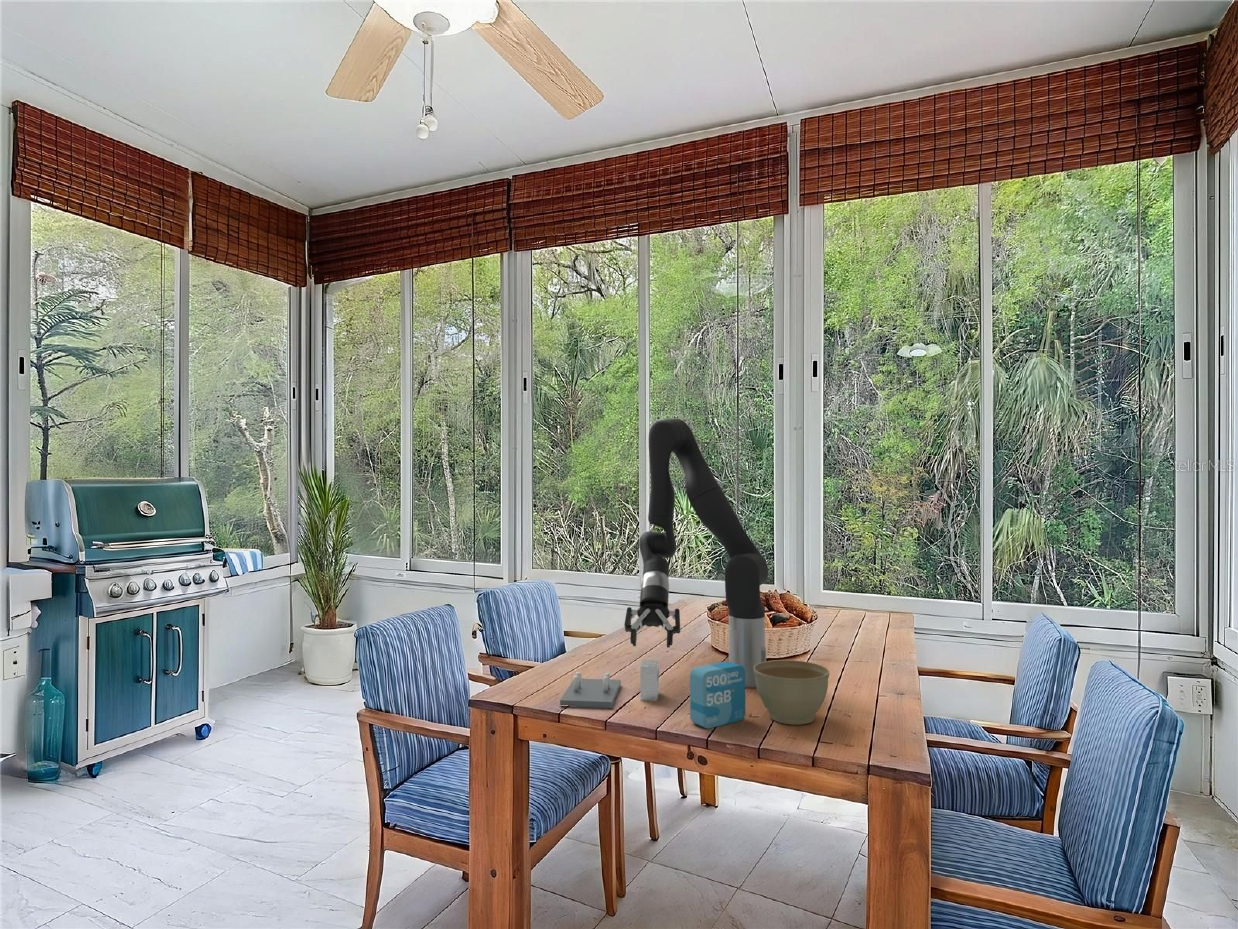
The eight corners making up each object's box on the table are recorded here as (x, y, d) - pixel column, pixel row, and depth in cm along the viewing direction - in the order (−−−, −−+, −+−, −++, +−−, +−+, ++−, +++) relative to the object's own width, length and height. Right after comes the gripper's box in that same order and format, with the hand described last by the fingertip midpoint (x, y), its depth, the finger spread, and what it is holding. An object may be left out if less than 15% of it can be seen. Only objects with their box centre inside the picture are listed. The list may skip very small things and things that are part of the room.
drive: (659, 693, 173) (659, 660, 173) (657, 700, 167) (657, 666, 167) (642, 692, 173) (642, 660, 173) (640, 700, 167) (640, 666, 167)
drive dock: (620, 685, 179) (620, 666, 179) (611, 708, 161) (611, 686, 161) (574, 684, 180) (574, 664, 180) (560, 706, 162) (560, 684, 162)
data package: (703, 730, 147) (702, 672, 147) (689, 724, 151) (689, 667, 151) (746, 719, 153) (745, 664, 154) (732, 714, 157) (731, 660, 157)
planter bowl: (827, 709, 160) (826, 661, 160) (832, 734, 144) (831, 681, 145) (755, 704, 164) (755, 657, 164) (752, 728, 148) (752, 676, 148)
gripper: (627, 583, 186) (621, 636, 175) (681, 584, 185) (679, 638, 173) (629, 599, 192) (624, 652, 180) (681, 601, 190) (680, 654, 178)
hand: (651, 645), depth 177 cm, fingers open, 8 cm apart
